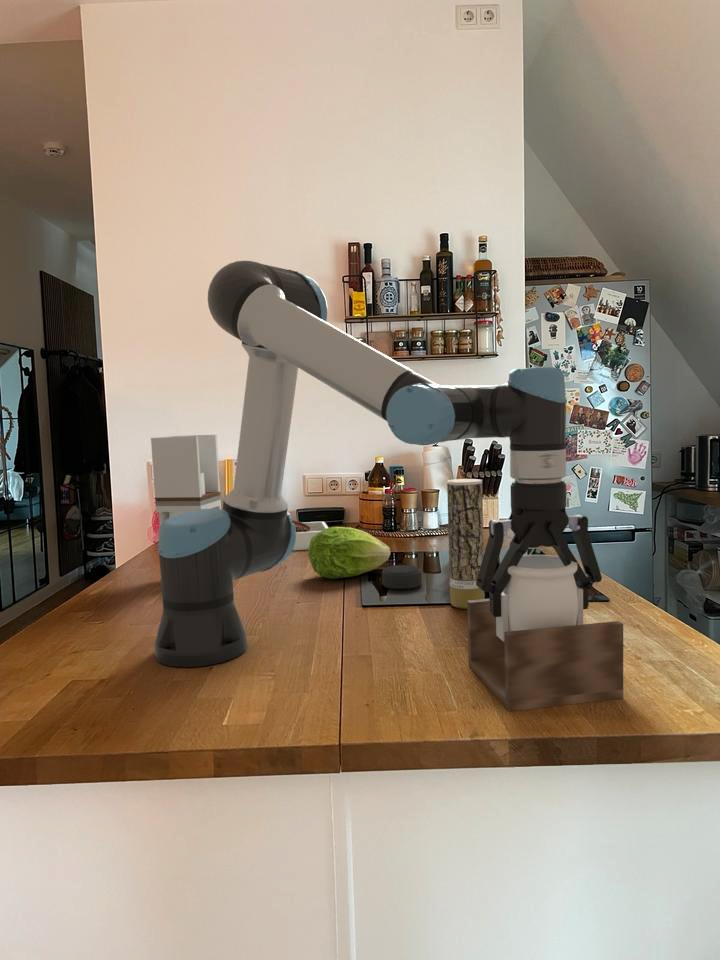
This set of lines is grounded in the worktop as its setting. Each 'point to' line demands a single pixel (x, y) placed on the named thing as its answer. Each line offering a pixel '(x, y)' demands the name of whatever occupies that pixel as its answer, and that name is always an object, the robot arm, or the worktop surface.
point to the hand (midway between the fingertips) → (539, 634)
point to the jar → (541, 593)
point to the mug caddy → (308, 535)
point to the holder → (545, 661)
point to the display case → (185, 474)
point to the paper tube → (465, 539)
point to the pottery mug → (301, 526)
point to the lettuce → (345, 552)
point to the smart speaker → (401, 577)
